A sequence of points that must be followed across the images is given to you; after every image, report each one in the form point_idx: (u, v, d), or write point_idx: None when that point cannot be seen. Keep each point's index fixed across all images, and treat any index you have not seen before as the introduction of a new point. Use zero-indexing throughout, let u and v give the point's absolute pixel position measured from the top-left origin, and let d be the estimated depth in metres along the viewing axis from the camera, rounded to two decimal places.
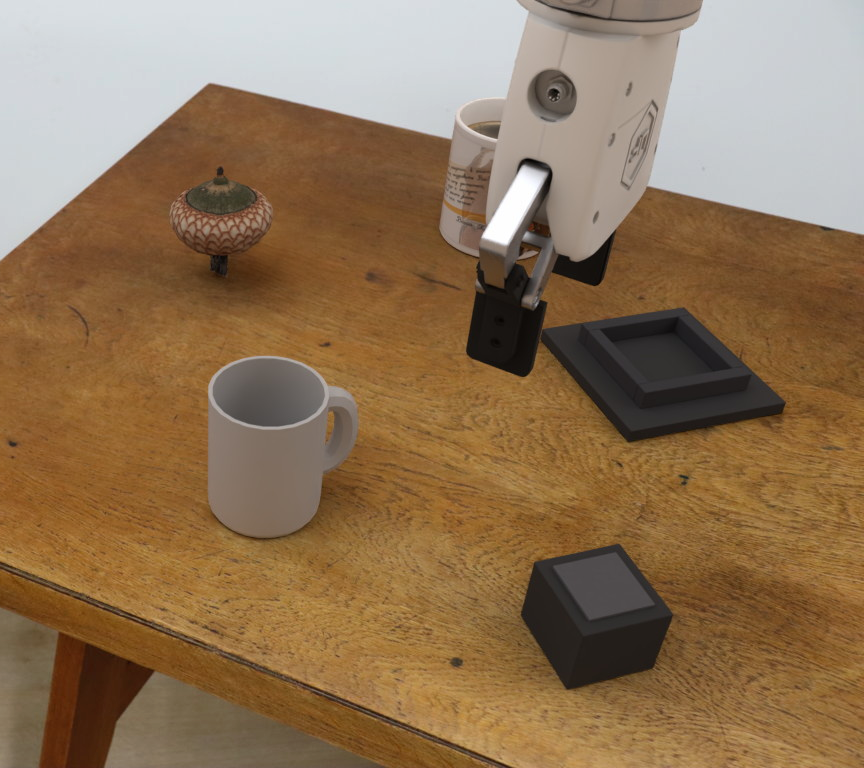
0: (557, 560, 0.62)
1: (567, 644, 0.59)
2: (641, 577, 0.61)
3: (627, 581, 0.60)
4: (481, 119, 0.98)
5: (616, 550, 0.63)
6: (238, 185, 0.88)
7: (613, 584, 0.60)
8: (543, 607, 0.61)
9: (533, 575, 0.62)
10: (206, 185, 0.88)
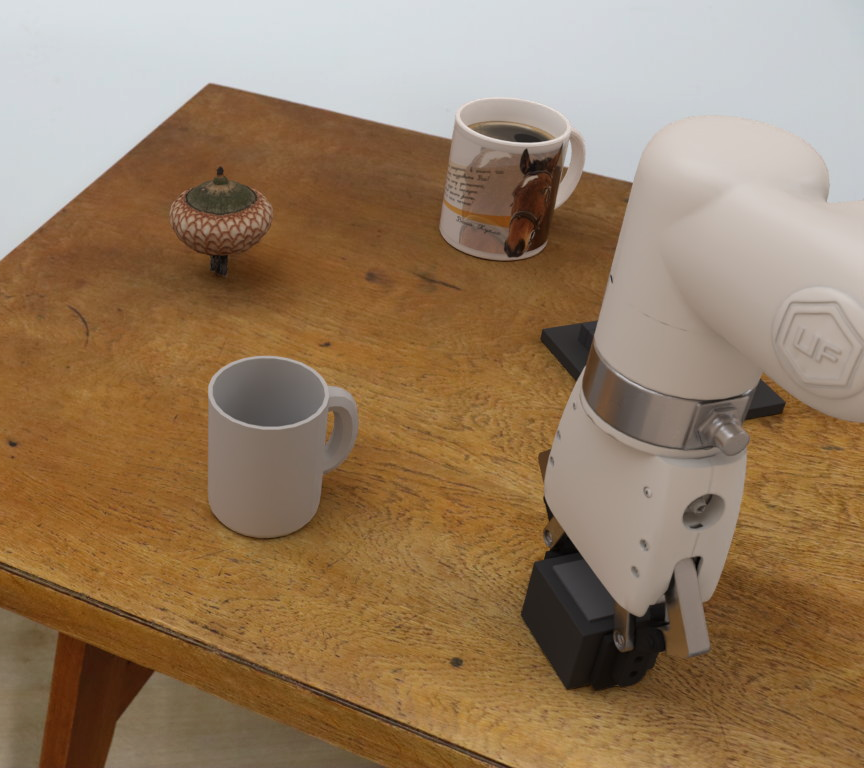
0: (557, 560, 0.62)
1: (567, 644, 0.59)
2: None
3: None
4: (481, 119, 0.98)
5: None
6: (238, 185, 0.88)
7: None
8: (543, 607, 0.61)
9: (533, 575, 0.62)
10: (206, 185, 0.88)
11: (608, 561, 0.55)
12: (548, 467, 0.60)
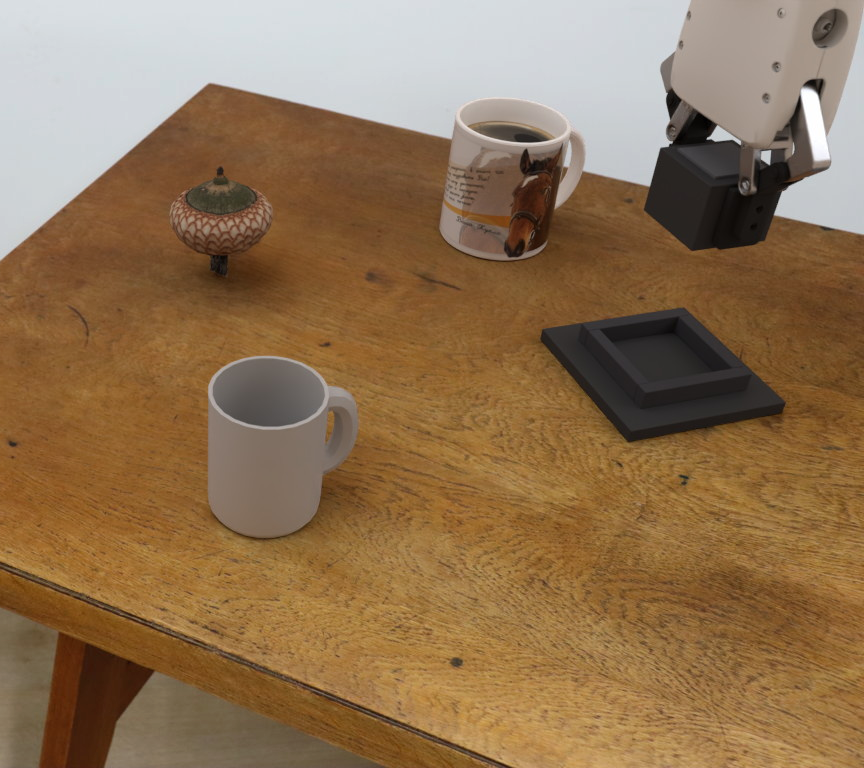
0: (680, 147, 0.70)
1: (694, 205, 0.68)
2: None
3: None
4: (481, 119, 0.98)
5: (730, 143, 0.71)
6: (238, 185, 0.88)
7: (732, 158, 0.69)
8: (668, 185, 0.70)
9: (659, 161, 0.71)
10: (206, 185, 0.88)
11: (738, 104, 0.64)
12: (676, 53, 0.68)
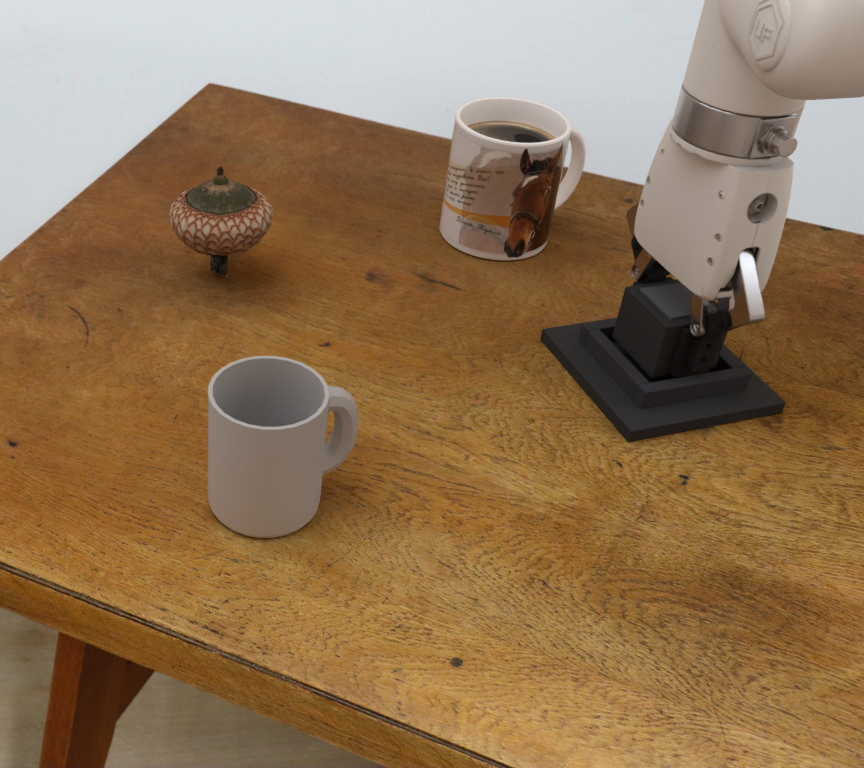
0: (643, 286, 0.82)
1: (653, 340, 0.79)
2: None
3: None
4: (481, 119, 0.98)
5: None
6: (238, 185, 0.88)
7: (686, 299, 0.80)
8: (632, 320, 0.81)
9: (624, 298, 0.82)
10: (206, 185, 0.88)
11: (688, 262, 0.75)
12: (638, 209, 0.80)
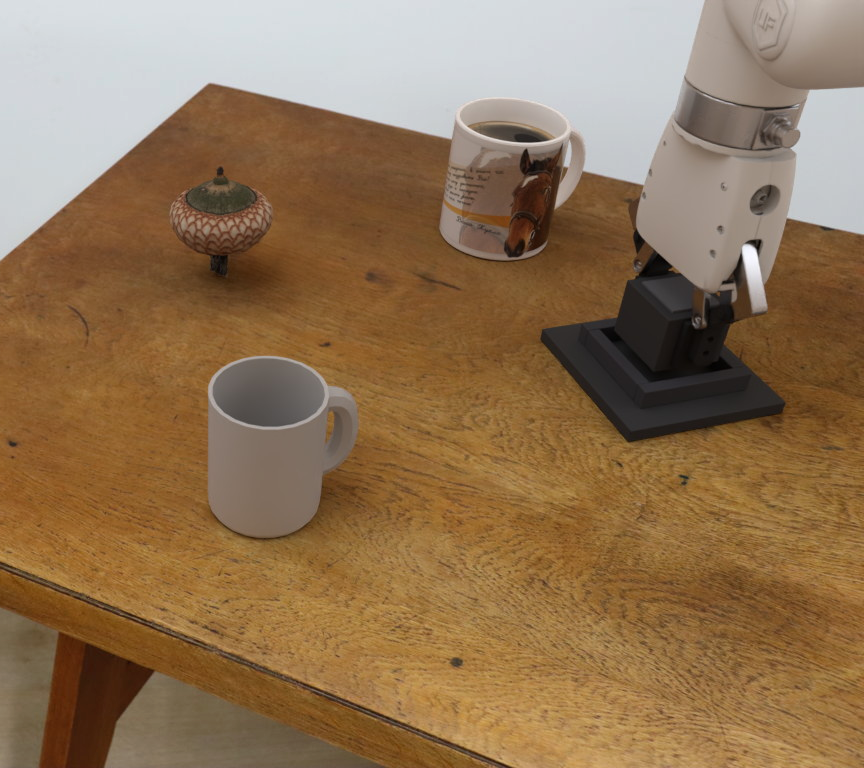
0: (645, 279, 0.81)
1: (655, 333, 0.79)
2: None
3: None
4: (481, 119, 0.98)
5: None
6: (238, 185, 0.88)
7: (688, 292, 0.80)
8: (634, 313, 0.81)
9: (626, 291, 0.81)
10: (206, 185, 0.88)
11: (691, 254, 0.75)
12: (640, 202, 0.79)
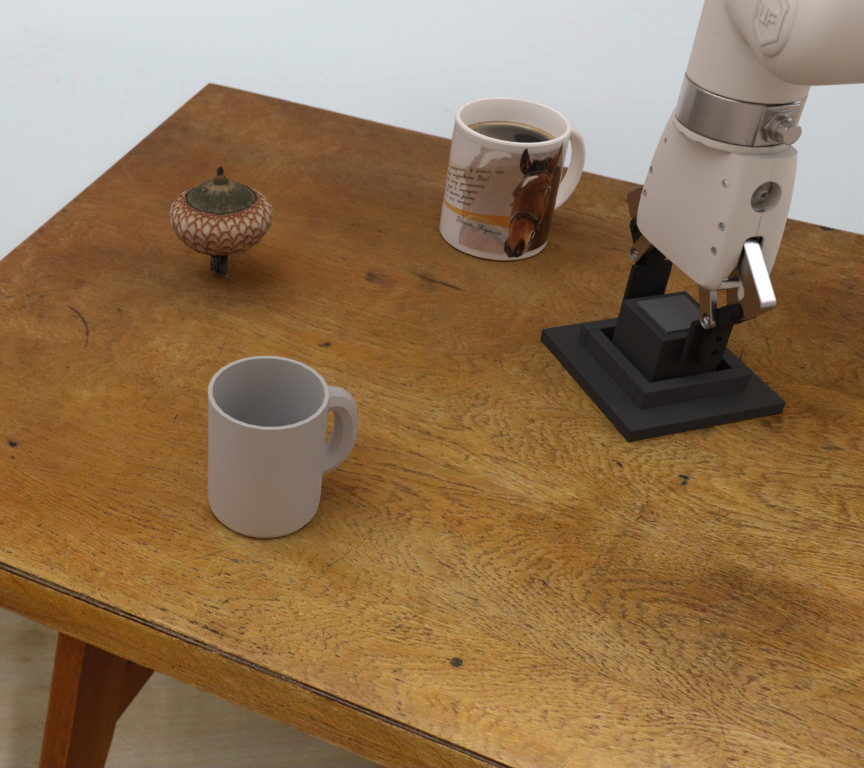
0: (640, 299, 0.82)
1: (650, 353, 0.80)
2: None
3: (693, 311, 0.81)
4: (481, 119, 0.98)
5: (683, 294, 0.83)
6: (238, 185, 0.88)
7: (683, 312, 0.81)
8: (629, 333, 0.82)
9: (621, 311, 0.82)
10: (206, 185, 0.88)
11: (691, 252, 0.74)
12: (641, 199, 0.79)
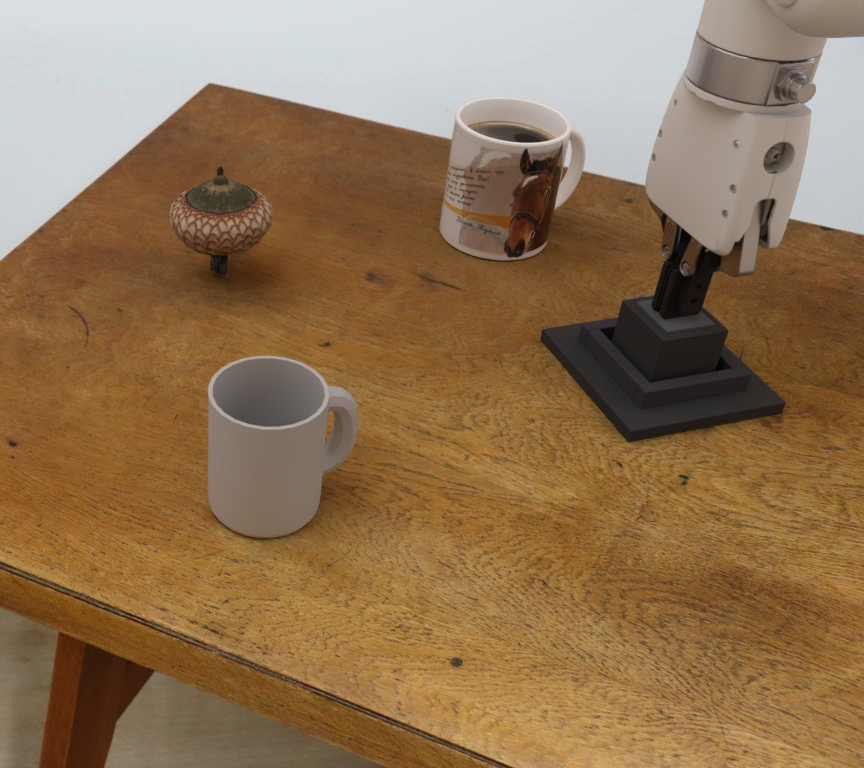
0: (640, 299, 0.82)
1: (650, 353, 0.80)
2: (703, 309, 0.82)
3: None
4: (481, 119, 0.98)
5: None
6: (238, 185, 0.88)
7: None
8: (629, 333, 0.82)
9: (621, 311, 0.82)
10: (206, 185, 0.88)
11: (702, 216, 0.73)
12: (650, 164, 0.78)
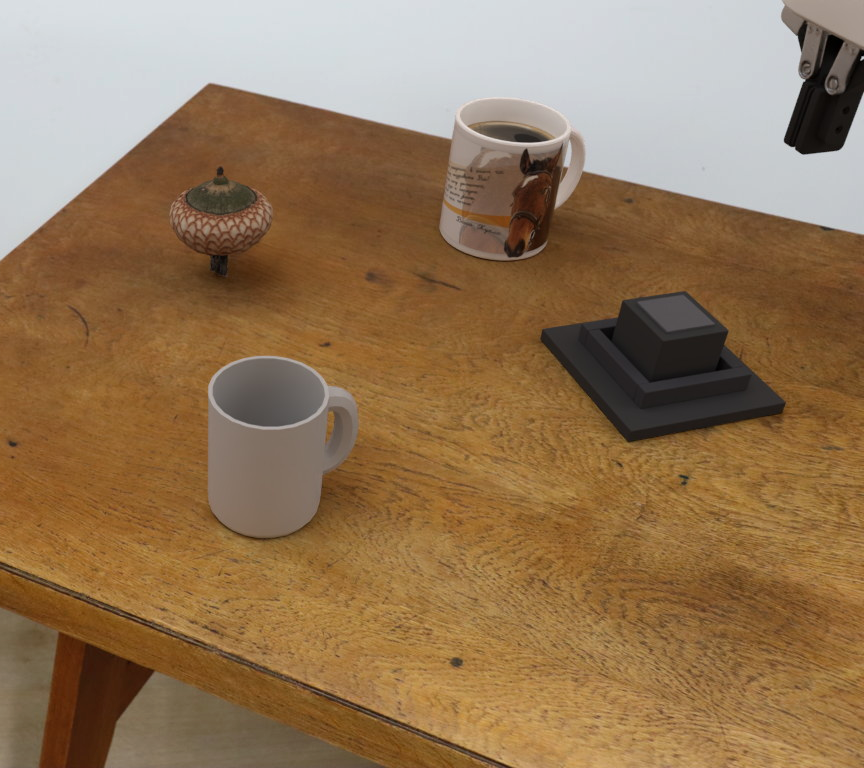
0: (640, 299, 0.82)
1: (650, 353, 0.80)
2: (703, 309, 0.82)
3: (693, 311, 0.81)
4: (481, 119, 0.98)
5: (683, 294, 0.83)
6: (238, 185, 0.88)
7: (683, 312, 0.81)
8: (629, 333, 0.82)
9: (621, 311, 0.82)
10: (206, 185, 0.88)
11: (863, 8, 0.60)
12: None
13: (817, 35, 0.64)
